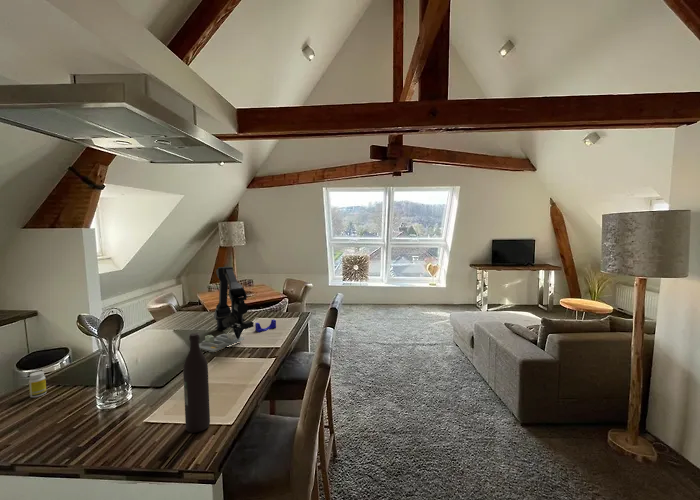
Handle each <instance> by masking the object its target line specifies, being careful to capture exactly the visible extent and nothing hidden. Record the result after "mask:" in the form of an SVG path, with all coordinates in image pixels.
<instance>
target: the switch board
mask: <svg viewBox="0 0 700 500" xmlns="http://www.w3.org/2000/svg"><path fill="white" fill-rule="evenodd" d="M242 338H243V339H242ZM244 338H245V337H242V336H240V338H239V339H237V338H236V339H233V340H232V339H228V333H226V334H225V333H222V334H219V335H216V336H215V337H214V343H210V342H206V341H205V339H204V340H202V341H201V342H199V346H200V349H204V350H206V351H205V352H207V351H209V352H208V353H210V352H215V351H218V350H220V349H222V348H225V347H227V346H229V345H232V344H234V343H237V342H241V341H245V339H244Z"/></svg>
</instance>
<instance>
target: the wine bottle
mask: <svg viewBox="0 0 700 500" xmlns="http://www.w3.org/2000/svg"><path fill="white" fill-rule="evenodd" d="M188 338H189V343H190V344H189V345H190V346H189V352H188V354H187V356H186V357H185V360H184V363H183V368H182V369H183V370H182V374H183V392H184V393H183V396H184V417H185V418H184V419H185V429H186V430H185V431H187V432H188V433H195V434H196V433H199V432H200V433H201V432H202V431H204V430H206V429H208V428H209V426H210V424H211V415H210V414H211V413H210V412H211V411H210V410H211V409H210V388H209V387H210V385H209V365H208V361H207V358H206V356H205V354H204V353H203V350H200V346H199V344H200V338H201V337H200V334H199V333H198V332H195V333H190V334H189V337H188Z"/></svg>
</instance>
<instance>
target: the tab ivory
mask: <svg viewBox="0 0 700 500" xmlns="http://www.w3.org/2000/svg"><path fill="white" fill-rule="evenodd" d="M227 334H228V339H232V340H233V339H236V335H235V333H234V331H233V332H229V333H227Z"/></svg>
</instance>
